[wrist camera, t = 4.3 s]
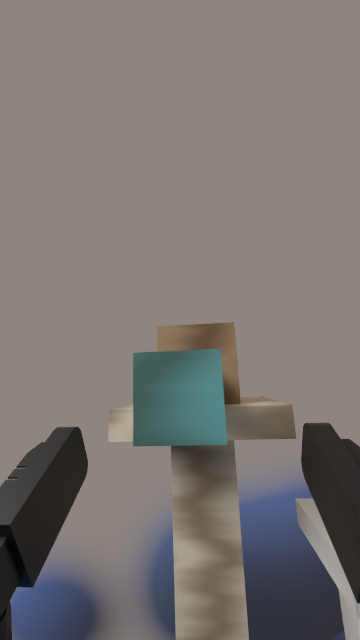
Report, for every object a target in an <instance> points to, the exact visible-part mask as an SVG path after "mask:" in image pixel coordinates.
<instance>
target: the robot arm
mask: <svg viewBox="0 0 360 640" xmlns="http://www.w3.org/2000/svg"><path fill="white" fill-rule="evenodd" d="M301 462H302V470H303V474H304V477H305V480H306V483H307V485H308V487H309V490H310V492H311V495H312V497H313V499H314V502H315V504H316V506H317V509H318V511H319V514H320V516H321V518H322V521H323V523H324V526H325V528H326V530H327V533H328V535H329V537H330V540H331V542H332V545H333V547H334V549H335V552H336V554H337V556H338V559H339V561H340V564H341V566H342V568H343V571H344V573H345V575H346V578H347V580H348V583H349V585H350V587H351V590H352V592H353V594H354V597H355V599H356V602H357V603H360V447H359V446H358V445H356V444H355V443H354V442H353V441H351V440H350V439H340V437H339V436H338V434H337V433H336V432H335V430H334V429H333V427H332V426H331V425H330V424H329V423H305V424H304V426H303V439H302V457H301ZM87 468H88V460H87V455H86V451H85V446H84V442H83V438H82V434H81V430H80V428H78V427H58V428H56V429H55V430H54V431H53V432H52V434H51V435H50V436H49V438H48V439H47V440H46V442H42V443H40V444H39V445H37V446H36V447H35V448H34V449H32V450H31V451H30V452H28V453H27V454H26V455H25V457H24V458H23V459H22V460H21V462H20V463H19V464H18V465H17V468H16V469H14V470H13V472H12V473H11V474H10V475H9V477H8V480H5V482H4V483H3V484H2V485H1V487H0V640H12V614H11V603H10V599H11V597H12V595H13V593H14V591H15V589H16V588H17V587H33V586H34V584H35V582H36V580H37V577H38V576H39V573H40V571H41V569H42V567H43V565H44V563H45V561H46V559H47V557H48V554H49V552H50V551H51V548H52V546H53V544H54V542H55V540H56V538H57V536H58V533H59V532H60V530H61V527H62V526H63V523H64V521H65V519H66V517H67V515H68V513H69V511H70V509H71V507H72V505H73V503H74V500H75V498H76V496H77V494H78V492H79V490H80V488H81V486H82V484H83V482H84V480H85V477H86V474H87Z"/></svg>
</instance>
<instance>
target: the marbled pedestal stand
mask: <svg viewBox="0 0 360 640" xmlns="http://www.w3.org/2000/svg"><path fill="white" fill-rule="evenodd" d="M240 402H241V404H225V418H226V433H227V445H190V446H171V468H172V506H173V546H174V583H175V584H174V585H175V623H176V640H249V635H248V622H247V609H246V595H245V582H244V569H243V555H242V542H241V529H240V515H239V502H238V489H237V475H236V462H235V450H234V449H235V448H234V440H243V439H244V440H250V439H296V434H295V425H294V417H293V409H292V405H290V404H287V403H283V402H279V401H276V400H272V399H269V398H265V397H240ZM118 441H120V442H123V441H133V404H130V405H126V406H122V407H119V408H115V409H111V410H110V411H109V442H118Z"/></svg>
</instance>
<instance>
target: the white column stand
mask: <svg viewBox="0 0 360 640" xmlns="http://www.w3.org/2000/svg"><path fill="white" fill-rule="evenodd" d="M295 500H296V509H297V518H298V524H299V526H300V527H301V529H302V531H303V532H304V534H305V535H306V537H307V538H308V540H309V542H310V543H311V545H312V547H313V548H314V549H315V551H316V553H317V555H318V556H319V558H320V559H321V561H322V563H323V564H324V566H325V567H326V569H327V571H328V572H329V574H330V575H331V577H332V579H333V580H334V582H335V583H336V585H337V587H338V588H339V595H340V602H341V610H342V617H343V624H344V631H345V638H346V640H360V603H357V602H356V599H355V597H354V594H353V592H352V590H351V587H350V585H349V583H348V580H347V578H346V575H345V573H344V571H343V568H342V566H341V564H340V561H339V559H338V556H337V554H336V552H335V549H334V547H333V545H332V542H331V540H330V537H329V535H328V533H327V530H326V528H325V526H324V523H323V521H322V518H321V516H320V514H319V511H318V509H317V506H316V504H315V502H314V499H295Z"/></svg>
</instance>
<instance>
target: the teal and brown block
mask: <svg viewBox="0 0 360 640" xmlns="http://www.w3.org/2000/svg"><path fill="white" fill-rule="evenodd" d="M235 342H236V341H235V329H234V323H233V322H232V323H216V324H198V325H181V326H164V327H163V326H162V327H157V352H142V353H133V354H134V355H133V364H134V365H133V446H190V445H227V433H226V418H225V404H241V402H240V389H239V377H238V366H237V353H236V343H235Z"/></svg>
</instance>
